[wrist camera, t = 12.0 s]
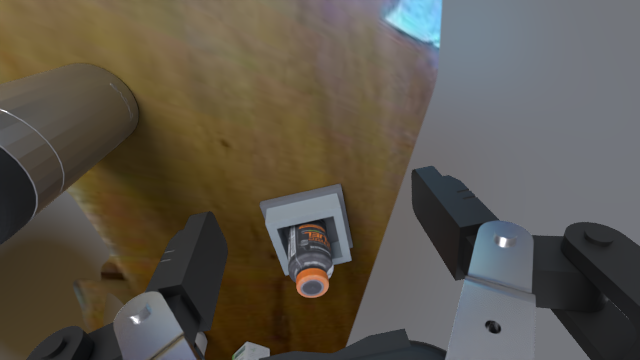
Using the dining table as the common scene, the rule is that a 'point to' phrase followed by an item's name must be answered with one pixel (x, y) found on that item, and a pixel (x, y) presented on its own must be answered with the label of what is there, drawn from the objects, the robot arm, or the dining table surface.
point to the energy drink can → (201, 342)
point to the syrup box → (251, 352)
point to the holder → (305, 209)
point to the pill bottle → (310, 257)
